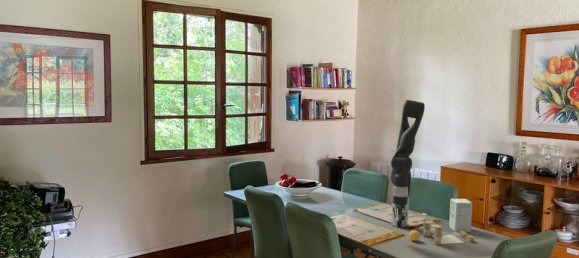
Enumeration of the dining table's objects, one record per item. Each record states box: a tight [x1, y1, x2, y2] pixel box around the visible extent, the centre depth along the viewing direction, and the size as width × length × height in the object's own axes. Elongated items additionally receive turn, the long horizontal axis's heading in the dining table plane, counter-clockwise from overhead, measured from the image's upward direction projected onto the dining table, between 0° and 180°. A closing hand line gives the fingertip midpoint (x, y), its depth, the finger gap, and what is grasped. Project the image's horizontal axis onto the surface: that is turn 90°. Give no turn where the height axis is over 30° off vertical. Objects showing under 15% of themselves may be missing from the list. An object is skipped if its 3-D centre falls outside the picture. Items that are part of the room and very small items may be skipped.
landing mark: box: [431, 234, 465, 245], centre depth 242 cm, size 12×12×1 cm
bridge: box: [422, 218, 443, 246], centre depth 240 cm, size 14×3×9 cm, turn 10°
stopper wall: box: [458, 231, 475, 243], centre depth 244 cm, size 11×2×2 cm, turn 10°
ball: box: [408, 229, 421, 242], centre depth 238 cm, size 6×6×6 cm
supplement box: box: [448, 198, 473, 233], centre depth 259 cm, size 10×9×17 cm
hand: (399, 227), depth 236 cm, fingers closed
